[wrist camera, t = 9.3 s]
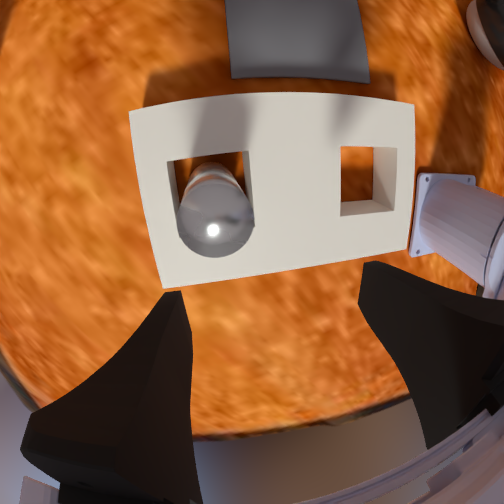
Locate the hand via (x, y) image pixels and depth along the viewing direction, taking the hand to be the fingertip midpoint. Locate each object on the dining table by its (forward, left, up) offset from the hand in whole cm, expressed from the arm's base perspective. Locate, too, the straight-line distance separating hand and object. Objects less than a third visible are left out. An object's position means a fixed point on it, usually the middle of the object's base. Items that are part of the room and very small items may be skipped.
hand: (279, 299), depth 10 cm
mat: (-5, -15, -10) cm, 18 cm away
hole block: (-3, -3, -10) cm, 11 cm away
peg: (+2, -3, -10) cm, 10 cm away
